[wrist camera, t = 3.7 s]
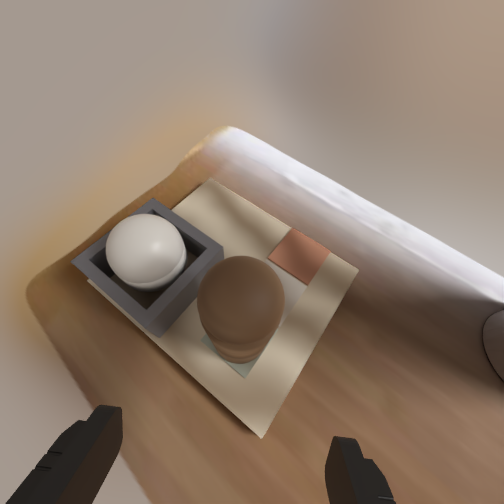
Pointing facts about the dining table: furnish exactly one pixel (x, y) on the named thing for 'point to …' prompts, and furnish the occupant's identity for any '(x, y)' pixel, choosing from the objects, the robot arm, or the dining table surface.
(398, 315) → the dining table surface
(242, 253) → the game board
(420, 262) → the dining table surface
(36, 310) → the dining table surface
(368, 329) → the dining table surface
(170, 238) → the dome button
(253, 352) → the pawn
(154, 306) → the dome frame
